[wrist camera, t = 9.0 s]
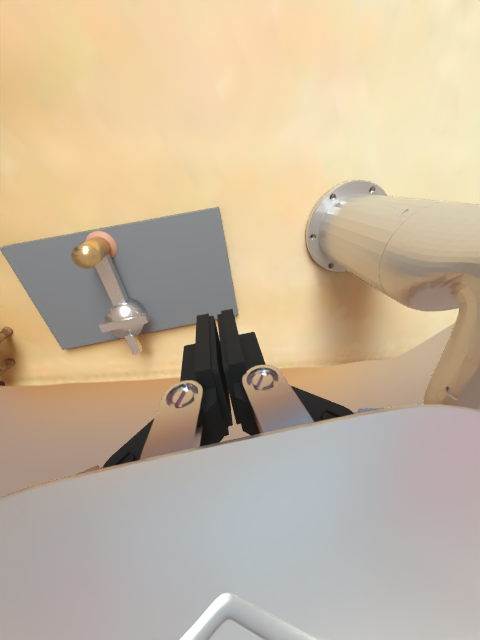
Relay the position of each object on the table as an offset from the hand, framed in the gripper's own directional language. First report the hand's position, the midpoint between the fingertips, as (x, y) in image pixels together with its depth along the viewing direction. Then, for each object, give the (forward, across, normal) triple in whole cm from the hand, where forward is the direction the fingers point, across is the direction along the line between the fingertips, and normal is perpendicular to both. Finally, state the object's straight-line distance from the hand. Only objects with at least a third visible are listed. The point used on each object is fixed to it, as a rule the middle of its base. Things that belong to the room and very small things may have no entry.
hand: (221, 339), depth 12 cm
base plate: (+27, +12, +5) cm, 30 cm away
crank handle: (+26, +14, +6) cm, 30 cm away
